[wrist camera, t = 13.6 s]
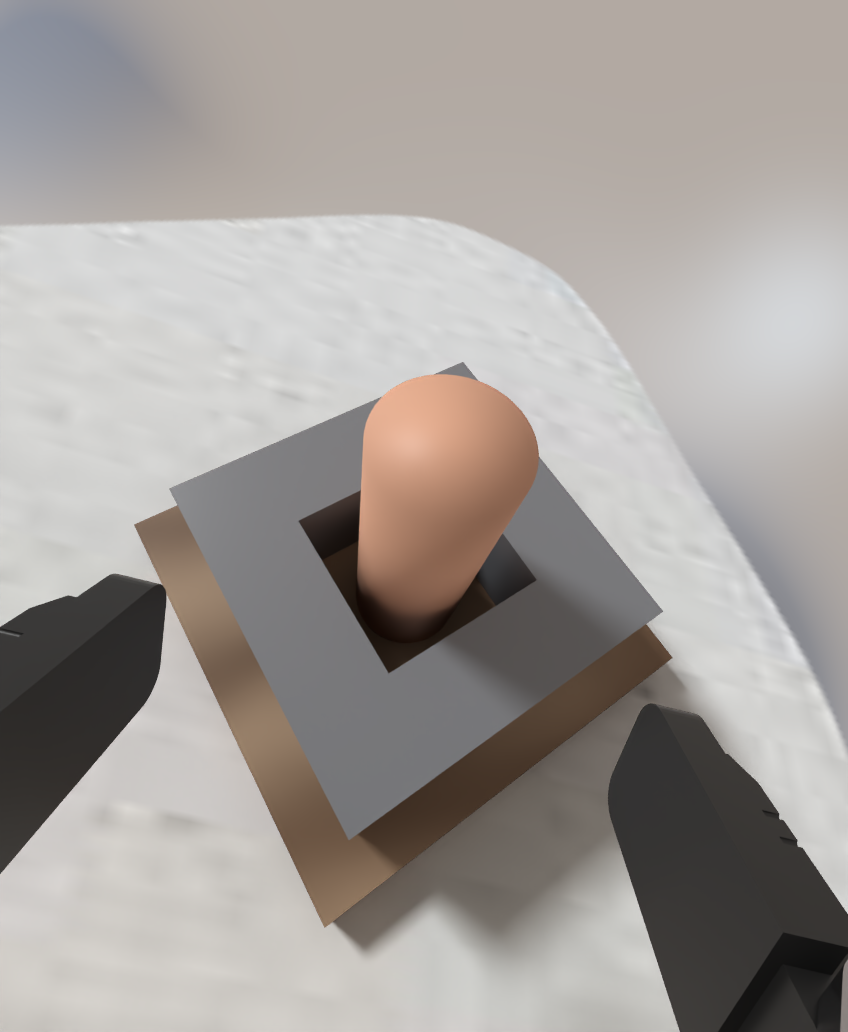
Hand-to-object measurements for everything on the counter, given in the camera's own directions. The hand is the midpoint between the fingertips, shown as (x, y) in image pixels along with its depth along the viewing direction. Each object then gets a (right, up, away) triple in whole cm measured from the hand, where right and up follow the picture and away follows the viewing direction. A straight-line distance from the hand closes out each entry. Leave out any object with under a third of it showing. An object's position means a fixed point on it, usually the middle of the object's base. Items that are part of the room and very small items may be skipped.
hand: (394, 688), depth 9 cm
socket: (0, 0, +13) cm, 13 cm away
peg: (0, 0, +13) cm, 13 cm away
